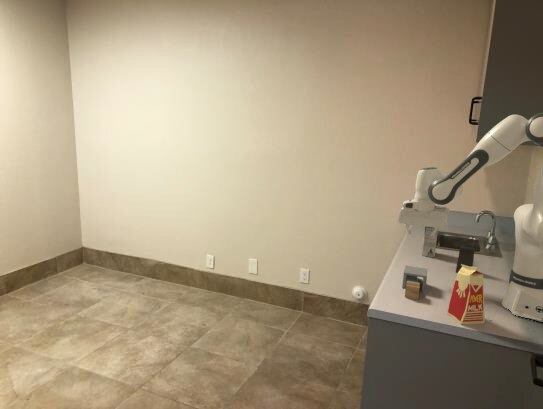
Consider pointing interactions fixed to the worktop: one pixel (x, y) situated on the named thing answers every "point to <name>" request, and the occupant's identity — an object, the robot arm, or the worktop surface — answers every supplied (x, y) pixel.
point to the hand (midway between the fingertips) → (420, 235)
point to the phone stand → (465, 257)
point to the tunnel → (415, 272)
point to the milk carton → (467, 297)
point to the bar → (411, 278)
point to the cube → (412, 290)
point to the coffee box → (429, 242)
